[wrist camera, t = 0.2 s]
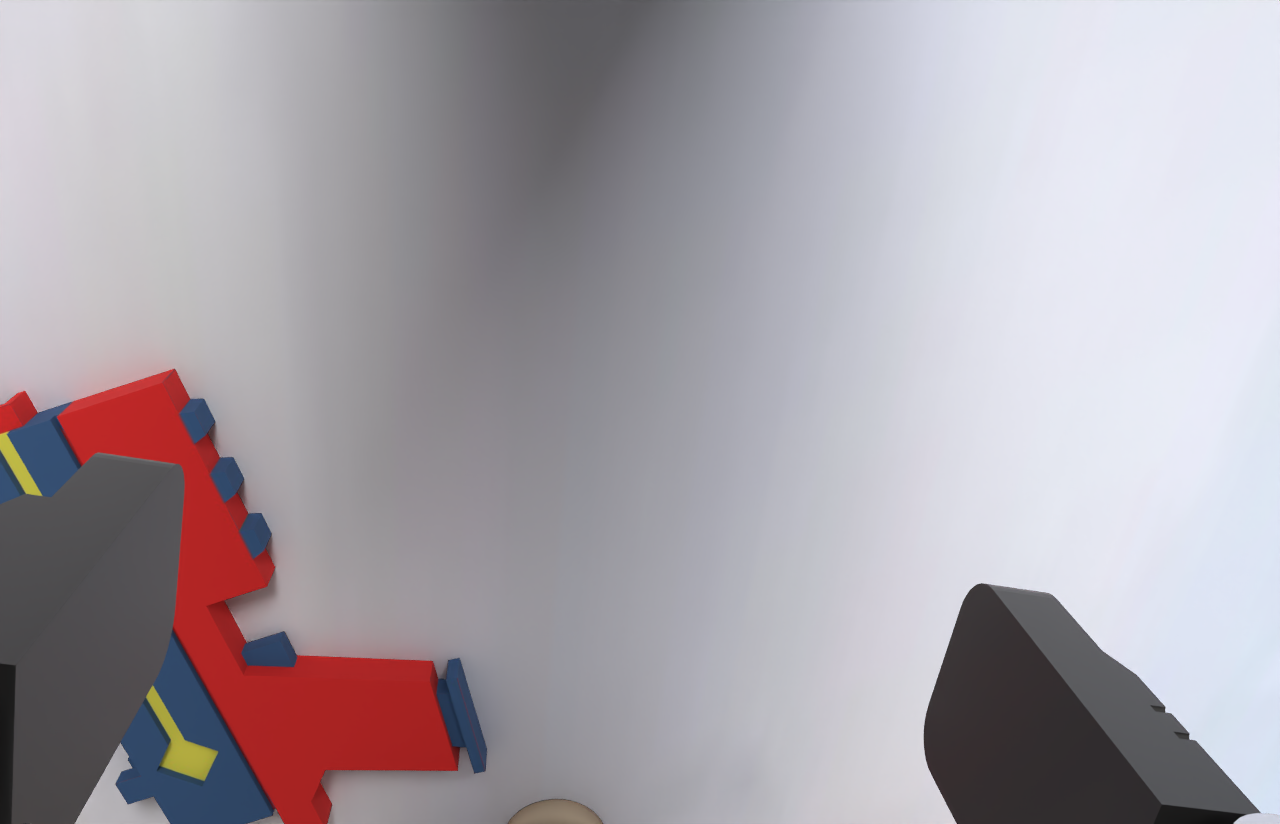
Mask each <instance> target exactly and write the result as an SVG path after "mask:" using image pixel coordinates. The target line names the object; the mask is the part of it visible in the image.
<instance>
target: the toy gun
mask: <svg viewBox="0 0 1280 824" xmlns="http://www.w3.org/2000/svg"><path fill="white" fill-rule="evenodd" d="M214 423H215V420H214V418H213V416H212V414H211V412H210V410H209V408H208V406H207V404H206V402H205V400H204V399H190V398H189V396H188V394H187V392H186V390H185V388H184V386H183V384H182V382H181V380H180V378H179V376H178V374H177V372H176V370H175V369H172V370H169V371H166V372H163V373H160V374H157V375H154V376H151V377H148V378H145V379H141V380H138V381H135V382H132V383H129V384H126V385H123V386H120V387H117V388H113V389H110V390H107V391H104V392H101V393H98V394H95V395H92V396H89V397H86V398H82V399H79V400H76V401H73V402H70V403H67V404H64V405H61V406H58V407H55V408H51V409H48V410H45V411H42V412H39V413H37V411H36V409H35V407H34V406H33V404H32V402H31V400H30V399H29V397H28V395H27V393H26V392H25V391H23V392H20V393H17V394H16V395H15V396H14V397H12V398H11V399H10V400H9V401H8V402H6V403H5V404H2V405H0V504H2V503H4V502H7V501H9V500H11V499H14V498H16V497H19V496H21V495H24V494H31V495H38V496H45V497H52V496H53V495H54V494H55V493H56V492H57V491H58V490H59V489H60V488H61V487H62V486H63V485H64V484H65V483H66V482H67V481H68V480H69V479H70V478H71V477H72V476H73V475H74V474H75V473H76V472H77V471H78V470H79V469H80V468H81V467H82V466H83V465H84V464H85V463H86V462H87V461H88V460H89V459H90V458H91V457H92V456H93V455H94V454H95V453H98V452H99V453H106V454H113V455H120V456H127V457H133V458H140V459H147V460H154V461H161V462H167V463H174V464H180V465H181V467H182V469H183V473H184V481H185V490H184V504H183V517H182V530H181V543H180V555H179V568H178V581H177V594H176V607H175V616H174V623H173V628H172V633H171V638H170V642H169V646H168V650H167V653H166V656H165V659H164V662H163V665H162V667H161V670H160V672H159V674H158V676H157V678H156V680H155V682H154V684H153V685H152V687H151V689H150V691H149V692H148V694H147V696H146V698H145V700H144V701H143V703H142V705H141V707H140V708H139V710H138V712H137V714H136V715H135V717H134V719H133V721H132V723H131V724H130V726H129V728H128V730H127V731H126V733H125V735H124V737H123V738H122V740H121V744H122V746H123V747H124V749H125V750H126V752H127V754H128V755H129V758H128V761H129V763H130V764H131V766H132V767H133V768H132V769H129V770H125V771H122V772H121V774H120V776H119V778H118V780H117V782H116V784H115V785H116V786H117V788H118V789H119V791H120V793H121V794H122V796H123V797H124V799H125V800H126V802H127V804H131V803H134V802H137V801H141V800H144V799H147V798H150V797H153V796H154V798H155V799H156V801H157V803H158V804H159V806H160V808H161V809H162V811H163V813H164V814H165V816H166V817H167V819H168V821H169V822H170V824H247V823H250V822H253V821H256V820H259V819H263V818H266V817H269V816H272V815H273V812H274V809H275V808H276V810H277V811H278V813H279V815H280V817H281V818H282V820H283V822H284V824H327V823H328V819H329V815H330V811H331V806H332V803H331V801H330V800H329V798H328V796H327V794H326V792H325V790H324V788H323V786H322V785H321V783H320V781H321V779H322V776H323V774H324V772H325V770H422V771H458V762H459V751H460V747H466V748H467V751H468V754H469V757H470V761H471V764H472V767H473V770H474V774H475V773H479V772H484V771H486V755H487V748H486V745H485V741H484V738H483V735H482V731H481V728H480V724H479V721H478V718H477V714H476V711H475V708H474V704H473V701H472V698H471V694H470V691H469V688H468V684H467V681H466V678H465V674H464V671H463V668H462V664H461V661H460V658H457V659H452V660H448V668H447V676H446V679H438V676H437V673H436V670H435V667H434V663H433V661H421V660H396V659H372V658H347V657H322V656H298V655H296V654H295V652H294V650H293V648H292V646H291V644H290V642H289V640H288V638H287V636H286V634H285V632H281V633H277V634H274V635H271V636H268V637H265V638H261V639H258V640H255V641H252V642H249V643H247V642H246V641H245V639H244V637H243V635H242V633H241V631H240V629H239V627H238V626H237V624H236V622H235V620H234V618H233V616H232V614H231V613H230V611H229V609H228V607H227V605H226V603H225V601H224V600H226V599H229V598H233V597H236V596H239V595H242V594H245V593H248V592H252V591H255V590H258V589H261V588H264V587H267V586H268V583H269V581H270V579H271V576H272V574H273V572H274V569H275V566H274V564H273V562H272V560H271V558H270V556H269V554H268V552H267V550H266V545H267V543H268V541H269V539H270V537H271V532H270V530H269V528H268V526H267V524H266V522H265V520H264V518H263V516H262V514H261V513H255V514H248V512H247V510H246V508H245V506H244V504H243V502H242V500H241V499H240V497H239V495H238V493H237V491H238V489H239V487H240V486H241V484H242V482H243V480H244V478H243V476H242V474H241V472H240V470H239V468H238V466H237V464H236V462H235V460H234V458H233V457H227V458H220V457H219V455H218V453H217V451H216V449H215V447H214V445H213V443H212V441H211V439H210V437H209V435H208V431H209V430H210V428H211V427H212V426H213V424H214Z"/></svg>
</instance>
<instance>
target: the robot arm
mask: <svg viewBox="0 0 1280 824" xmlns="http://www.w3.org/2000/svg"><path fill="white" fill-rule="evenodd" d="M184 490H185V481H184V473H183V469H182V467H181V465H180V464H174V463H167V462H161V461H154V460H147V459H140V458H133V457H127V456H120V455H113V454H106V453H99V452H98V453H95V454H94V455H93V456H92V457H91V458H90V459H89V460H88V461H87V462H86V463H85V464H84V465H83V466H82V467H81V468H80V469H79V470H78V471H77V472H76V473H75V474H74V475H73V476H72V477H71V478H70V479H69V480H68V481H67V482H66V483H65V484H64V485H63V486H62V487H61V488H60V489H59V490H58V491H57V492H56V493H55V494H54V495H53V496H52V497H45V496H38V495H31V494H24V495H21V496H19V497H16V498H14V499H11V500H9V501H7V502H4V503H2V504H0V824H74V823H75V822H76V820H77V818H78V816H79V815H80V813H81V811H82V809H83V807H84V806H85V804H86V802H87V800H88V799H89V797H90V795H91V793H92V792H93V790H94V788H95V786H96V784H97V783H98V781H99V779H100V777H101V776H102V774H103V772H104V770H105V769H106V767H107V765H108V763H109V761H110V760H111V758H112V756H113V754H114V753H115V751H116V749H117V747H118V746H119V744H120V742H121V740H122V738H123V737H124V735H125V733H126V731H127V730H128V728H129V726H130V724H131V723H132V721H133V719H134V717H135V715H136V714H137V712H138V710H139V708H140V707H141V705H142V703H143V701H144V700H145V698H146V696H147V694H148V692H149V691H150V689H151V687H152V685H153V684H154V682H155V680H156V678H157V676H158V674H159V672H160V670H161V667H162V665H163V662H164V659H165V656H166V653H167V650H168V646H169V642H170V638H171V633H172V628H173V623H174V616H175V607H176V594H177V581H178V568H179V555H180V543H181V530H182V517H183V504H184ZM924 750H925V756H926V761H927V765H928V768H929V770H930V772H931V775H932V776H933V778H934V780H935V782H936V784H937V786H938V788H939V790H940V792H941V794H942V796H943V798H944V800H945V802H946V804H947V806H948V808H949V809H950V811H951V813H952V815H953V817H954V819H955V821H956V823H957V824H1280V815H1276V814H1269V813H1260V812H1259V810H1258V809H1257V808H1256V807H1255V806H1254V805H1253V804H1252V803H1251V802H1250V800H1249V799H1248V798H1247V797H1246V796H1245V795H1244V794H1243V793H1242V792H1241V790H1240V789H1239V788H1238V787H1237V786H1236V785H1235V784H1234V783H1233V782H1232V780H1231V779H1230V778H1229V777H1228V776H1227V775H1226V774H1225V773H1224V772H1223V770H1222V769H1221V768H1220V767H1219V766H1218V765H1217V764H1216V763H1215V762H1214V760H1213V759H1212V758H1211V757H1210V756H1209V755H1208V754H1207V753H1206V752H1205V750H1204V749H1203V748H1202V747H1201V746H1200V745H1199V744H1198V743H1197V742H1196V741H1195V740H1189V733H1188V732H1187V730H1186V729H1185V728H1184V727H1183V726H1182V725H1181V724H1180V723H1179V722H1178V720H1177V719H1176V718H1175V717H1174V716H1173V715H1172V714H1171V713H1165V706H1164V705H1163V704H1162V703H1161V702H1160V700H1159V699H1158V698H1157V697H1156V696H1155V695H1154V694H1153V693H1152V692H1151V690H1150V689H1149V688H1148V687H1147V686H1146V685H1145V684H1144V683H1143V682H1142V680H1141V679H1140V678H1139V677H1138V676H1137V675H1136V674H1134V673H1133V672H1132V671H1130V670H1129V669H1127V668H1126V667H1124V666H1123V665H1122V664H1120V663H1119V662H1117V661H1116V660H1114V659H1113V658H1112V657H1110V656H1109V655H1107V654H1106V653H1104V652H1103V651H1102V650H1101V649H1100V648H1099V647H1098V646H1097V644H1096V643H1095V642H1094V641H1093V640H1092V639H1091V638H1090V636H1089V635H1088V634H1087V633H1086V632H1085V631H1084V630H1083V628H1082V627H1081V626H1080V625H1079V624H1078V623H1077V622H1076V621H1075V619H1074V618H1073V617H1072V616H1071V615H1070V614H1069V613H1068V611H1067V610H1066V609H1065V608H1064V607H1063V606H1062V605H1061V604H1060V602H1059V601H1058V600H1057V599H1056V598H1055V597H1054V596H1053V595H1051V594H1049V593H1044V592H1037V591H1030V590H1023V589H1017V588H1010V587H1003V586H996V585H989V584H982V583H981V584H977V585H976V586H974V587H973V588H972V589H971V590H970V591H969V593H968V594H967V595H966V597H965V599H964V601H963V604H962V606H961V609H960V612H959V615H958V618H957V621H956V624H955V627H954V630H953V633H952V636H951V639H950V642H949V645H948V648H947V651H946V654H945V657H944V660H943V663H942V666H941V669H940V672H939V675H938V678H937V681H936V684H935V687H934V690H933V693H932V696H931V699H930V702H929V706H928V709H927V713H926V718H925V725H924Z"/></svg>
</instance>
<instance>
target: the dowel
mask: <svg viewBox="0 0 1280 824" xmlns="http://www.w3.org/2000/svg"><path fill="white" fill-rule="evenodd" d="M508 824H603V823H602V821H601V820H600V818H599V817H598V816H597V815H596V814H595V813H594V812H593V811H592V810H590V809H589V808H588V807H586V806H584V805H582V804H579V803H577V802H573V801H569V800H562V799H551V800H544V801H540V802H536V803H533V804H531V805H529V806H527V807H525V808H523V809H522V810H520V811H519V812H518V813H516V814H515V815H514V816H513V817H512V818H511V820H510V821H509V822H508Z"/></svg>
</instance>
